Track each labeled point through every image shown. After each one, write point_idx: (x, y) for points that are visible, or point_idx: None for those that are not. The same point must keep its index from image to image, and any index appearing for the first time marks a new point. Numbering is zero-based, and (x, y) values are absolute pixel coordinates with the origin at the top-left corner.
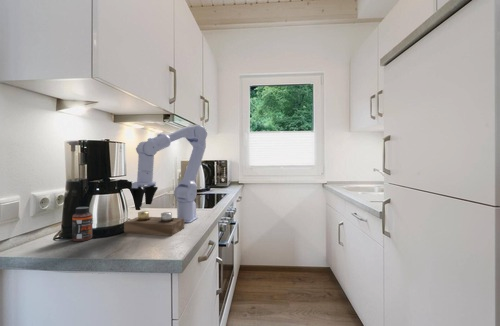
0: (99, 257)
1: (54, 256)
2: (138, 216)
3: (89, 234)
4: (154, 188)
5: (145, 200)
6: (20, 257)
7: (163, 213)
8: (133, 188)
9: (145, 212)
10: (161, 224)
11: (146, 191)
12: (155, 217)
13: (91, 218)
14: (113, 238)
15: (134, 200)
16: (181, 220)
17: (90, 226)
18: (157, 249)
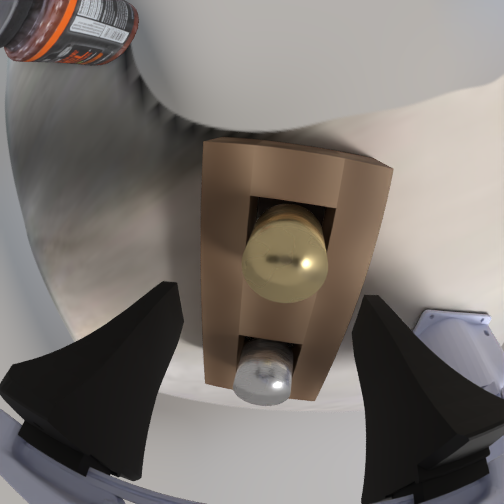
0: (30, 227)
1: (11, 113)
2: (254, 230)
3: (90, 63)
4: (366, 493)
5: (377, 315)
6: None
7: (255, 382)
8: (24, 417)
9: (276, 286)
10: (203, 353)
11: (408, 415)
12: (351, 290)
13: (47, 52)
14: (133, 147)
15: (125, 315)
16: (290, 396)
17: (70, 59)
18: None
